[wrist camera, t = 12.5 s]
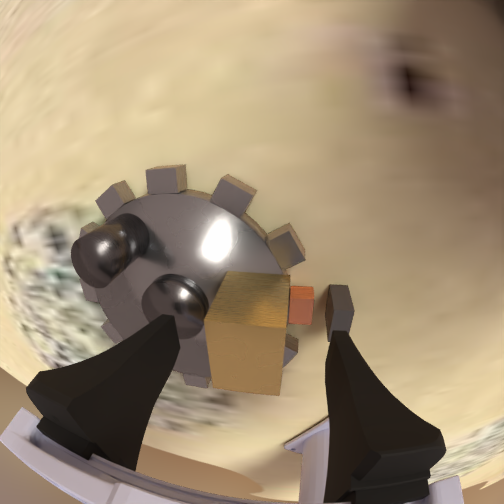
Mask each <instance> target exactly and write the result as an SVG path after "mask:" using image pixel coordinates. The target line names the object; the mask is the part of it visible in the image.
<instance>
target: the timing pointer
mask: <svg viewBox="0 0 504 504" xmlns="http://www.w3.org/2000/svg"><path fill="white" fill-rule="evenodd" d="M353 315H354V307H353V303H352V300H351V296H350V292H349V289H348V286H347V285H330V287H329V294H328V300H327V306H326V312H325V318H326V328H327V338H328V342H330V340H331V336H332V331H333V330H339V331H347V332H348V334H349V332H350V328H351V323H352V319H353Z"/></svg>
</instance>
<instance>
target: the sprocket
mask: <svg viewBox="0 0 504 504" xmlns="http://www.w3.org/2000/svg"><path fill="white" fill-rule="evenodd" d="M146 179H147V189H148V194H146V195H143V196H141V197H139V198H137V199H135V198H136V197H135V196H134V194H133V192H132V191H131V189H130V188H129V186H128V184H127V183H126V181H125V180H124V181H121V182H118V183H115V184H113V185H112V186H110V187H109V188H108V189H107V190H106V191H105V192H104V193H103V194H102V195H101V196H100V197H99V198H98V199H97V200H96V203H97V205H98V206H99V208H100V210H101V211H102V213H103V215H104V216H105V218H106V219H107V218H108V219H107V220H106V222H105V223H104V224H103V225H101V226H99V225H97V224H96V223H94V222H91V223H89V224H88V225H86V226H84V227H82V228H81V231H80V237H79V239H77V240H76V241H75V242H74V244H73V246H72V249H71V258H72V263H73V266H74V268H75V270H76V272H77V274H78V275H79V277H80V282H81V286H82V289H83V292H84V295H85V298H86V300H88V301H93V302H99V303H100V305H101V307H102V309H103V311H104V313H105V314H106V316H107V318H108V319H107V320H106V321H105V322H104V323H103V325H102V326H101V327H102V328H103V330H104V331H105V332H106V333H107V335H108V336H109V337H110V338H111V339H112V340H113V342H114V343H118V342H120V341H123V340H125V339H127V338H128V337H130V336H131V335H133V334H134V333H136V332H137V331H139V330H140V329H142V328H143V327H144V326H146V325H147V324H149V323H150V322H152V321H153V320H154V319H156V318H157V317H159V316H160V315H162V314H166V315H173V316H174V317H175V322H176V328H177V333H178V338H179V343H180V347H181V348H180V351H179V354H178V357H177V360H176V363H175V365H174V367H173V369H172V370H174V371H177V372H180V373H183V376H184V380H185V383H186V385H191V386H197V387H203V388H208V385H209V382H210V380H211V370H210V363H209V356H208V349H207V342H206V334H205V326H204V319H205V317H206V315H207V313H208V310H209V308H210V306H211V304H212V302H213V300H214V298H215V296H216V294H217V292H218V290H219V288H220V286H221V284H222V282H223V280H224V278H225V276H226V274H227V272H228V271H238V272H252V273H266V274H282V275H288V274H287V270H286V269H288V268H290V267H292V266H294V265H296V264H298V263H300V262H302V261H305V249H304V247H303V245H302V243H301V242H300V240H299V238H298V236H297V235H296V233H295V231H294V229H293V228H292V226H291V224H290V223H288V224H286V225H284V226H282V227H280V228H278V229H276V230H274V231H272V232H270V233H268V234H267V233H266V232H265V231H264V230H263V229H262V228H261V227H260V226H259V224H258V223H257V222H255V221H254V220H253V219H252V218H251V217H250V216H248V215H247V214H246V213H245V211H246V209H247V208H248V206H249V204H250V202H251V201H252V199H253V197H254V195H255V194H256V192H257V190H255V189H254V188H252V187H250V186H248V185H247V184H245V183H243V182H241V181H239V180H238V179H236V178H234V177H232V176H230V175H228V174H227V175H226V176H224V177H222V178H221V180H220V182H219V184H218V185H217V187H216V189H215V191H214V193H213V195H210V194H207V193H204V192H201V191H195V190H189V189H186V188H187V178H186V164H184V165H170V166H158V167H154V168H151V169H147V170H146ZM134 199H135V200H134ZM313 305H314V290H313V287H302V286H291V291H290V287H289V301H288V313H287V324H288V317H289V324H308V325H311V323H312V314H313ZM286 327H287V325H286ZM297 353H298V339H297V338H295V337H293V336H291V335H289V334H287V333H286V337H285V347H284V358H283V367H284V366H285V365H286V364H287V363H288V362H289V361H290V360H291V359H292V358H293V357H294V356H295V355H296V354H297ZM283 367H282V368H283Z"/></svg>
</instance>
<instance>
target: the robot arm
mask: <svg viewBox="0 0 504 504" xmlns="http://www.w3.org/2000/svg"><path fill="white" fill-rule="evenodd" d="M180 348H181V347H180V343H179V338H178V333H177V328H176V322H175V317H174V316H173V315H166V314H162V315H160V316H159V317H157V318H156V319H154V320H153V321H152V322H150V323H149V324H147V325H146V326H144V327H143V328H142V329H140V330H139V331H137V332H136V333H134V334H133V335H131V336H130V337H128V338H127V339H125V340H123V341H122V342H120V343H119V344H117V345H115V346H114V347H112V348H110V349H108V350H106V351H104V352H102V353H100V354H98V355H96V356H94V357H91V358H89V359H86V360H84V361H81V362H78V363H75V364H72V365H69V366H65V367H62V368H57V369H52V370H46V371H40V372H39V373H38V374H37V375H36V376H35V378H34V379H33V380H32V381H31V382H30V384H29V385H28V386H27V387H26V392H27V394H28V396H29V398H30V399H31V401H32V402H33V404H34V405H35V406H36V407H37V409H38V410H39V411H40V413H41V414H42V415H43V418H42V419H41V420H40V419H39V418H38V417H36V416H35V415H34V414H32V413H31V412H29V411H28V410H26V409H25V408H23V407H22V408H21V409H20V410H19V412H18V413H17V414H16V415H15V417H14V418H13V420H12V421H11V422H10V424H9V425H8V426H7V428H6V429H5V431H4V432H3V433H2V435H1V436H0V441H1V442H2V443H3V444H4V445H5V446H6V447H7V448H8V449H9V450H10V451H12V453H14V454H15V455H16V456H17V457H18V458H19V459H20V460H21V461H23V462H24V463H25V464H26V465H28V466H29V467H30V468H31V469H33V470H34V471H35V472H37V473H38V474H39V475H41V476H42V477H43V478H45V479H46V480H48V481H49V482H51V483H52V484H53V485H55V486H56V487H58V488H59V489H61V490H62V491H64V492H65V493H67V494H69V495H71V496H72V497H74V498H75V499H77V500H79V501H80V502H82V503H84V504H464V500H463V495H462V489H461V484H460V479H459V476H458V475H456V476H453V477H450V478H446V479H443V480H439V481H436V482H434V483H431V484H429V485H428V480H427V479H429V478H430V476H431V475H430V468H432V467H433V466H434V465H435V464H436V463H437V462H438V461H439V460H440V459H441V458H442V457H443V456H444V455H445V453H446V447H445V443H444V439H443V436H442V433H441V431H440V429H438V428H436V427H435V426H433V425H431V424H429V423H428V422H426V421H424V420H423V419H421V418H420V417H419V416H417V415H416V414H415V413H413V412H412V411H411V410H409V409H408V408H407V407H406V406H405V405H403V404H402V403H401V402H400V401H399V400H398V399H397V398H395V397H394V396H393V395H392V394H391V393H390V392H389V390H388V389H387V388H386V387H385V386H384V385H383V384H382V383H381V381H380V380H379V379H378V378H377V376H376V375H375V374H374V373H373V371H372V370H371V369H370V367H369V366H368V364H367V363H366V361H365V360H364V358H363V357H362V356H361V354H360V352H359V351H358V349H357V348H356V346H355V344H354V343H353V341H352V339H351V337H350V336H349V334H348V332H347V331H339V330H333V331H332V336H331V340H330V345H329V349H328V354H327V358H326V362H325V385H326V394H327V404H328V414H329V417H328V418H327V419H325V420H324V421H322V422H321V423H319V424H318V425H316V426H314V427H313V428H311V429H310V430H308V431H306V432H305V433H303V434H301V435H300V436H298V437H296V438H295V439H293V440H291V441H289V442H287V443H286V444H284V448H285V449H287V450H290V451H293V452H297V453H300V454H303V455H302V469H301V482H300V493H299V503H279V502H266V501H256V500H248V499H240V498H234V497H228V496H222V495H217V494H212V493H207V492H202V491H198V490H194V489H190V488H186V487H182V486H178V485H175V484H171V483H168V482H165V481H161V480H158V479H155V478H152V477H149V476H146V475H143V474H141V473H138V472H135V470H136V465H137V460H138V456H139V452H140V448H141V444H142V440H143V437H144V434H145V430H146V427H147V424H148V421H149V418H150V415H151V413H152V410H153V407H154V405H155V403H156V400H157V398H158V396H159V395H160V393H161V391H162V389H163V387H164V385H165V383H166V381H167V379H168V377H169V375H170V373H171V371H172V369H173V367H174V365H175V363H176V360H177V357H178V354H179V351H180Z"/></svg>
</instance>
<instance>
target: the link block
mask: <svg viewBox="0 0 504 504" xmlns="http://www.w3.org/2000/svg"><path fill="white" fill-rule="evenodd" d="M289 287H290V275H282V274H266V273H252V272H238V271H228V272H227V274H226V276H225V278H224V280H223V282H222V284H221V286H220V288H219V290H218V292H217V294H216V296H215V298H214V300H213V302H212V304H211V306H210V308H209V310H208V313H207V315H206V317H205V319H204V326H205V334H206V342H207V349H208V356H209V363H210V370H211V377H212V383H213V388H218V389H224V390H231V391H238V392H247V393H255V394H265V395H276V396H279V395H280V386H281V377H282V367H283V358H284V347H285V337H286V325H287V313H288V301H289Z"/></svg>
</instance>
